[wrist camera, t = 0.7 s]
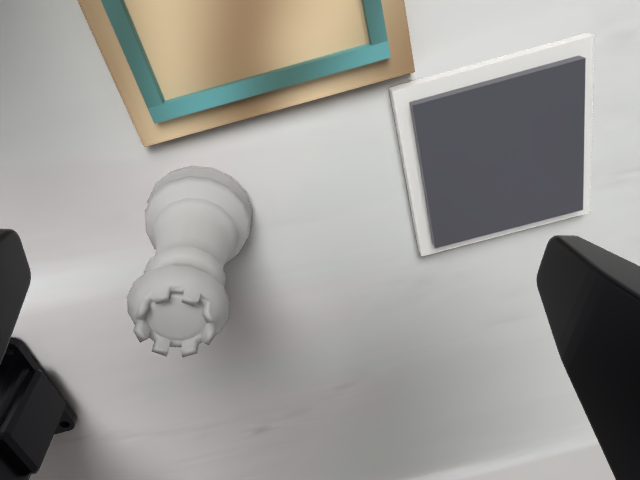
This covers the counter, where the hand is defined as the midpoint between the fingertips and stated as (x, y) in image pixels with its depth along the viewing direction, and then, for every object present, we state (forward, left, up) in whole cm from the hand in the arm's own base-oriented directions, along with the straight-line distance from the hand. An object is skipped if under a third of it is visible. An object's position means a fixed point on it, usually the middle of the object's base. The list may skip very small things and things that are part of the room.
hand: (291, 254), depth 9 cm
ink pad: (+8, -6, -13) cm, 17 cm away
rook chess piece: (-5, -5, -14) cm, 15 cm away
